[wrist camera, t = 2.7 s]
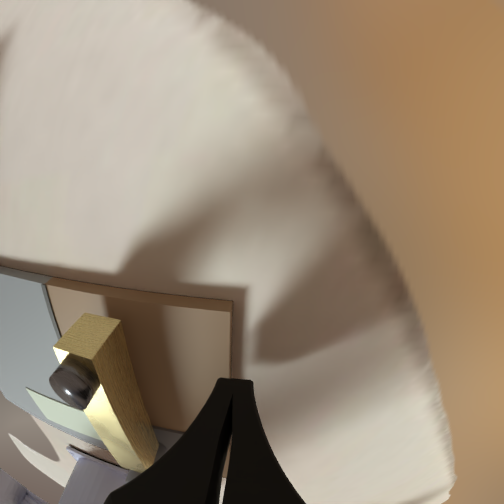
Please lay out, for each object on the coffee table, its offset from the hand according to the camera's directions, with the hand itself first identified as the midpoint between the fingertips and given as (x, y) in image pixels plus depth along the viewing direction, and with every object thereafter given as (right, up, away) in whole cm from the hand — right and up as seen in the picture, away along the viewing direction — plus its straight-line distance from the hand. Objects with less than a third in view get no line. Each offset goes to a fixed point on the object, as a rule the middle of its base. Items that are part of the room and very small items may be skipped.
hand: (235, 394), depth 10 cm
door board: (-12, -3, +4) cm, 13 cm away
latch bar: (-5, -1, +1) cm, 6 cm away
